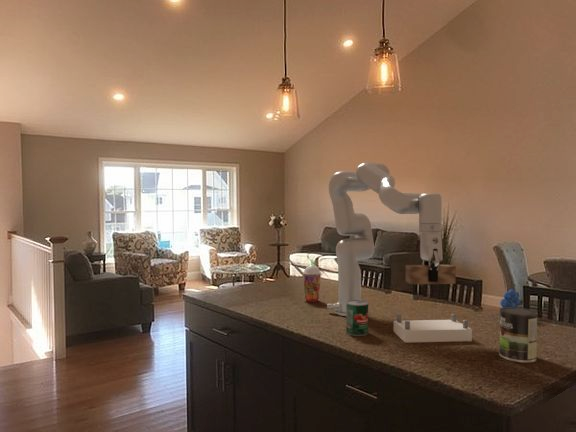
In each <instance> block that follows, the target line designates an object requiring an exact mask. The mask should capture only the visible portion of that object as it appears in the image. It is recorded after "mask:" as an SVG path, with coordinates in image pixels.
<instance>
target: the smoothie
mask: <svg viewBox="0 0 576 432" xmlns="http://www.w3.org/2000/svg"><path fill="white" fill-rule="evenodd" d="M310 263H311V264H310V265H307V266H306V267H305V269H304V271H303V273H302V274H303V285H304V286H303V287H304V288H303V289H304V299H305V302H307V303H318V302H319V299H320V290H321V288H320V287H321V274H322V272H321V271H320V268H319V267H318V266H316V265H315V264H313V263H314V259H313V258H311V261H310Z"/></svg>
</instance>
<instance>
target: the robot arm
mask: <svg viewBox="0 0 576 432" xmlns="http://www.w3.org/2000/svg"><path fill="white" fill-rule="evenodd" d="M390 174H391V173H390V169H389V168H388V166H387V165H385V164H384V163H380V162H362V163H360V164H359V165H358V166H357V168H356V169H355V171H354V170H353V171H352V170H340V171H337V172H335V173H334V174H333V175H332V176H330V179H329V181H328V193H329V197H330V201H331V204H332V210H333V216H334V223H335V228H336V231H337V234H338V235H341V236H354V237H352V238H343V239H341V240H339V241H338V242H337V244H336V246H335V254H336V259H337V274H338V275H337V278H338V279H337V280H338V282H337V284H338V285H337V289H338V290H337V292H338V293H337V294H338V295H337V297H338V299H337V301H336V302H334V303H327V304H326V309H331V310H334V314H335V315H337V316H343V317H346V302H347V301H351V300H361V301H362V272H361V267H360V265H359V262H358V261H364V260H365V261H367V260H369V259H371V258H373V255H374V253H375V242H374V235H373V231H372V230H373V229H372V224H371V221H370V219H369V217H368V216H367V215H366V214H364V213H363V212H362V213H361V212H355V210H354V204H353V200H352V199H351V197H350V196H349V194H348V193H347V192H366V191H369V190H372V191H374V193H376V194H378V198H379V200H380V202H381V203H382V204H383V205H384V206H385V207H387V209H390V211H393V212H395V214H399V215H418V233H419V234H420V241H419V243H420V245H419V252H420V253H419V254H420V259H421V260H422V265H429V270H428V281H429V282H438V266H439V265H440V262H442V261H443V259H444V258H443V241H442V235H441V234H442V224H443V223H442V220H443V219H442V212H443V211H442V209H443V208H442V202H443V201H442V196H441V194H439V193H433V192H431V193H429V192H428V193H425V192H424V193H419V192H418V193H416V192H413V193H412V192H402V191H399V190H398V189H396V188H395V185H396V180H395V178H394V177H393V175H390Z"/></svg>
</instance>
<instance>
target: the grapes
mask: <svg viewBox="0 0 576 432" xmlns="http://www.w3.org/2000/svg"><path fill="white" fill-rule="evenodd" d="M502 295H503V298H502V299H501V300H500V301H499V304H500V306H501V307H500V308H499V311H500V309H501V308H505V307H517V308H519V307H518V306H520V305H521V300H520V299H519V297H520V293H519V291H516V290H515V289H513V288H510V289H509V290H508V291H505V292H504V293H503V294H502Z"/></svg>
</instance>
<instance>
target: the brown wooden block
mask: <svg viewBox="0 0 576 432" xmlns="http://www.w3.org/2000/svg"><path fill="white" fill-rule="evenodd" d="M428 270H429V265H423V264H405V282H406V284H409V285H447V284H448V285H453V284H456V276H457V275H456V271H457V270H456V266H455V265H452V264H439V266H438V282H429V281H428Z"/></svg>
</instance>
